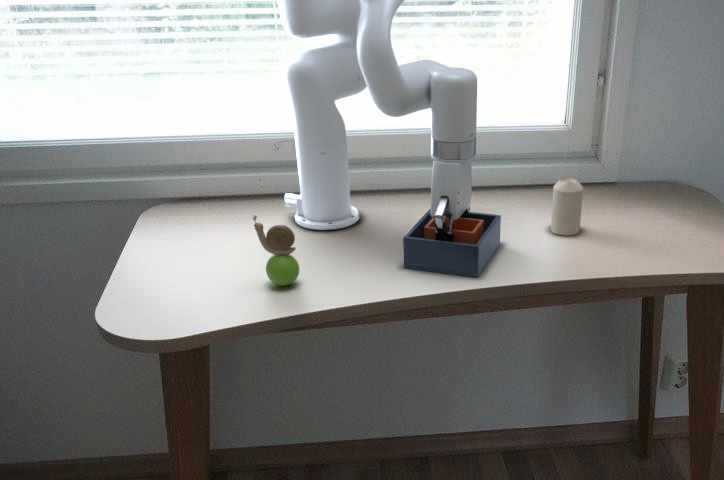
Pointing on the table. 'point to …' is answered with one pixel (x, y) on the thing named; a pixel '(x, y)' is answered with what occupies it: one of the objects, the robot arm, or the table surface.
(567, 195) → the candle
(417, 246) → the big tote
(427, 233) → the small tote
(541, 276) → the table surface
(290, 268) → the snail figurine
